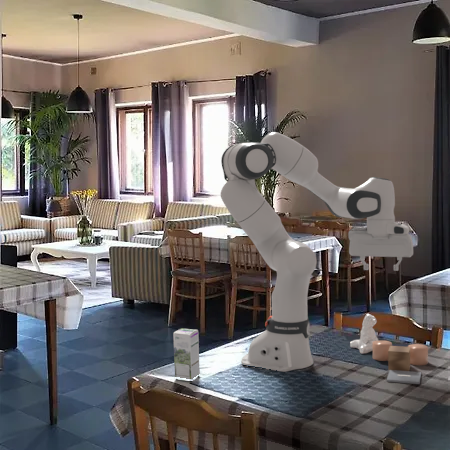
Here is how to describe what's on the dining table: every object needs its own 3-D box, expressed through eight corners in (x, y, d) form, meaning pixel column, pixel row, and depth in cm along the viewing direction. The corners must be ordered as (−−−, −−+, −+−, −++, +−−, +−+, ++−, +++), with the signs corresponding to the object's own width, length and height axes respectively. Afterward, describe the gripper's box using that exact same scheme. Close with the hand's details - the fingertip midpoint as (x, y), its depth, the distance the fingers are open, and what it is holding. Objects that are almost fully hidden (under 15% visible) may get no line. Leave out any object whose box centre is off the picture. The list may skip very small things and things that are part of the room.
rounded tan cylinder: (371, 360, 214) (371, 344, 214) (373, 354, 220) (373, 339, 219) (391, 361, 212) (390, 346, 212) (392, 356, 218) (392, 340, 217)
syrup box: (200, 376, 202) (199, 329, 201) (191, 382, 197) (189, 333, 196) (183, 374, 205) (182, 327, 203) (174, 380, 199) (172, 332, 198)
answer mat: (386, 381, 194) (386, 379, 194) (389, 371, 202) (389, 369, 202) (419, 384, 191) (419, 381, 191) (421, 374, 199) (421, 371, 199)
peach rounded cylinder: (407, 364, 209) (407, 348, 208) (408, 359, 214) (408, 343, 214) (427, 366, 207) (427, 350, 206) (428, 360, 212) (428, 344, 212)
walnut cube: (388, 370, 204) (388, 351, 203) (390, 364, 209) (390, 345, 209) (409, 372, 202) (409, 352, 201) (410, 366, 207) (410, 346, 207)
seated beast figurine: (348, 346, 230) (348, 311, 229) (371, 344, 232) (371, 309, 231) (361, 354, 221) (361, 318, 219) (385, 351, 223) (385, 315, 222)
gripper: (346, 228, 219) (347, 270, 220) (412, 229, 212) (412, 272, 214) (349, 226, 225) (350, 267, 226) (413, 226, 218) (413, 269, 220)
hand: (381, 270), depth 220 cm, fingers open, 8 cm apart
